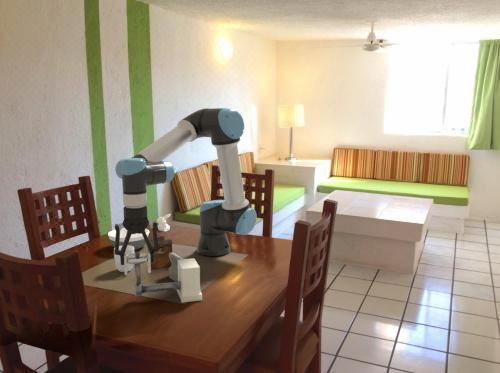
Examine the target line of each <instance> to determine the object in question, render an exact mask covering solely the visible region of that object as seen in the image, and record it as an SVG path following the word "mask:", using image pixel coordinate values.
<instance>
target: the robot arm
mask: <svg viewBox="0 0 500 373" xmlns="http://www.w3.org/2000/svg"><path fill="white" fill-rule="evenodd" d="M244 130H245V121H244V118H243V116H242V114H241V113H240V112H239V111H238V110H237V109H235V108H229V107H228V108H227V107H222V108H219V107H217V108H216V107H215V108H209V107H208V108H202V109H198V110H196V111H194V112H192V113H190V114H189V115H187V116H185V117H184V118H182V119H180V120H179V121H178V122H177V125H176V126H175V127H174V128H172V129H171V130H170V131H168V132H167V133H165V134H164V135H163V136H161V137H159V138H158V139H157V140H155V141H154V142H152V143H151V144H150V145H148V146H147V147H145V148H144V149H142V150H141V151H139V152H138V153H137V154H135V155H133V156H132V157H129V158H122V159H120V160H119V161H117V163H116V165H115V170H114V171H115V173H116V174H115V175H116V176H117V177H118V178H119V179H121V181H122V202H123V220H122V222H121V223H115V224H114V230H116V238H115V247H114V248H115V250H114V249H113V253H114V252H115V255H120V260H121V265H124V271H125V272H124V276H128V272H127V256H126V254H125V251H126V248H127V245H128V242H129V240H130V237H131V234H136V233H137V234H141V233H142V235H143V237H144V240H145V242H146V244H145V245H146V246H147V248H148V251H147V253H146V254H147V255H148V261H147V272H148V274H151V273H152V266H151V264H152V263H154V262H155V256H154V254H155V253H157V252H159V251H160V247H159V246H160V245H159V239H158V233H157V228H158V222H157V220H156V221H155V220H154V221H150V220H149V218H148V206H147V204H148V197H147V196H148V193H147V189H148V188H147V186H149V187H150V186H154V185H161V184H167V183H170V182H172V181H173V179H174V176H175V168H174V166H173V164H172V163H171V162H170V161H167V160H166V159H167V158H168V157H169V156H171V155H173V154H174V153H175V152H177V151H178V150H179V149H181V147H183V146H185V145H186V144H188V143H190V142H191V143H193V142H195V141H196V140H197V139H200V138H210V141H211V145H212V146H213V147H215V149H216V155H217V161H218V167H219V174H220V181H221V187H222V193H223V198H224V199H215V200H208V201H204V202H201V204H200V205H199V228H200V234H199V237H198V238H199V239H198V241H197V245H196V253H197V254H199V255H202V256H207V257H217V256H224V255H227V254H229V253H230V252H231V245H230V241H229V238H228V235H227V233H233V234H237V235H244V236H245V235H248V234H250V233H251V232H252V231H253V230H254V228H255V225H256V223H257V219H258V218H257V212H256V210H255V208H252V207H251V206H250V202H249V199H247V198H246V197H245V190H244V184H243V176H242V170H241V163H240V157H239V149H238V148H239V147H238V143H240V141H241V137H242V136H243V134H244ZM165 160H166V161H165ZM148 226H149V228H151V233H152V239H153V244H154V247H152V243H151V242H150V240H149V236H148V237H147V235H146V232H145V229H147V228H148ZM122 228H125V229H126V230H127V233H126V237H125V240H124V243H123V245H122V248H121V251H120V250H119V240H120V231H121V230H122Z"/></svg>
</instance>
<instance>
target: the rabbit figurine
mask: <svg viewBox="0 0 500 373" xmlns="http://www.w3.org/2000/svg"><path fill="white" fill-rule="evenodd" d="M171 215H172V214H171V213H168V214H164V215H163V216H160V217H158V218H157V219H156V223H157V228H158V231H160V232H164V233H165V232H167V231H170V228H171V226H170V225H169V224H168V223H167V218H169V217H171Z"/></svg>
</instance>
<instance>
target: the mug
mask: <svg viewBox="0 0 500 373" xmlns="http://www.w3.org/2000/svg"><path fill="white" fill-rule="evenodd" d="M121 248H122V246H119V250H120V251H121ZM114 250H115V247H114V248H113V257H114V263H115V267H116V269H117V271H119V272H121V273H125V271H124V265H121V260H120V255H115V252H114ZM134 253H135V250H134V247H133V246H130V245H127V248H126V251H125V254H126V256H127V255H130V254H134ZM134 266H135V264H129V263H127V273H128V272H130V271H132V269H133V267H134Z"/></svg>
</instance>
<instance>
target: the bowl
mask: <svg viewBox="0 0 500 373" xmlns="http://www.w3.org/2000/svg"><path fill="white" fill-rule="evenodd" d="M145 232H146V235H147V237H148V238H149V234H150V230H149V229H147V228H146V229H145ZM126 233H127V230H126V229H125V227H122V230H121V231H120V240H119V246H122V245H123V243H124V240H125V237H126ZM107 236H108V237H109V238H108V239H109V243H110V244H111V246H112V247H114V248H115V238H116V230H115V229H113V230H110V231H108V233H107ZM128 245H130V246H133V247H134V251H137V250H140V249H141V248H143V247H145V246H144V245H147V244H146V242H145V240H144V237H143V235H142V233H141V234H137V233H136V234H131V237H130V240H129V242H128Z"/></svg>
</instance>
